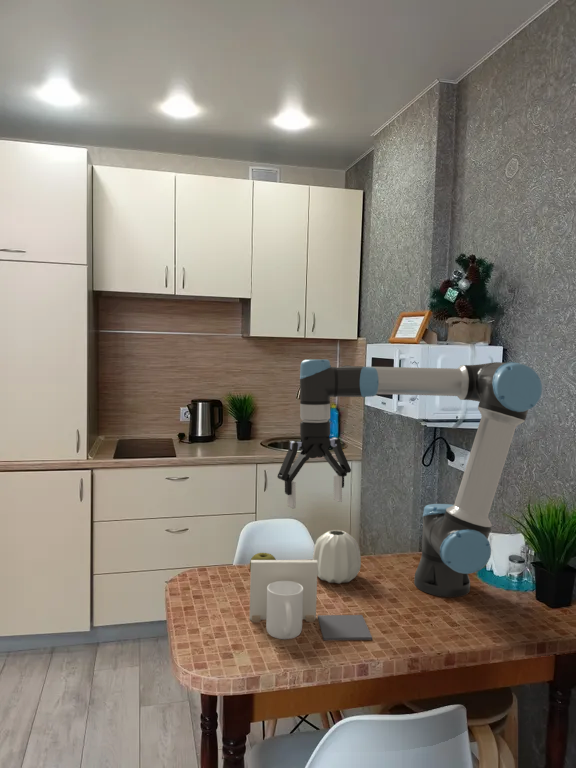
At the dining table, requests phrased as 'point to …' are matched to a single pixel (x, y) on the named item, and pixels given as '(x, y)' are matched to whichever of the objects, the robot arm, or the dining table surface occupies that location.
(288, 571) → the screen
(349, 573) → the vase
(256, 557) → the apple
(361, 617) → the pad
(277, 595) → the mug
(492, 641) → the dining table surface
